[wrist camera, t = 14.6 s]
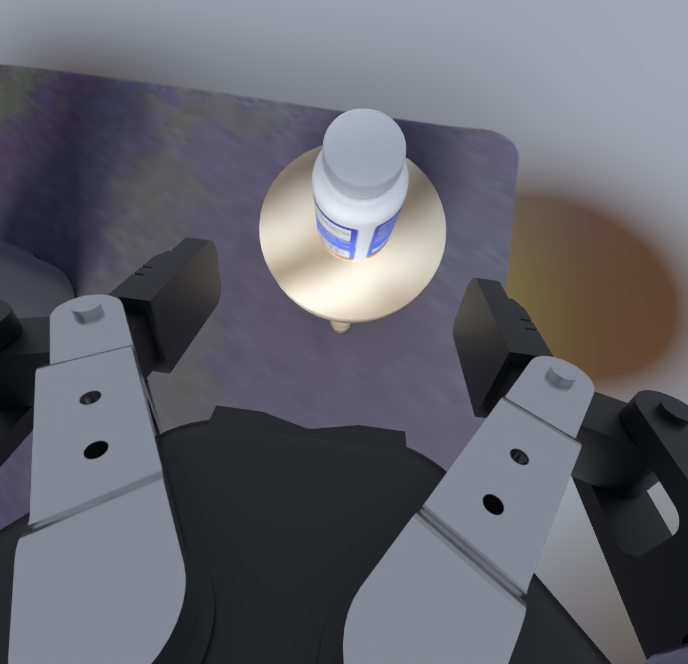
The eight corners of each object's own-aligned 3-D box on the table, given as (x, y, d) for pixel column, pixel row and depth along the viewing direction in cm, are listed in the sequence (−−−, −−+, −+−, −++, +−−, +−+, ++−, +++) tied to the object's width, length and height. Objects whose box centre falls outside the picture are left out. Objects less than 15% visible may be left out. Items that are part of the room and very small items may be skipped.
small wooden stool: (253, 254, 36) (222, 208, 26) (361, 179, 37) (370, 108, 27) (335, 363, 35) (334, 357, 25) (443, 281, 36) (483, 245, 26)
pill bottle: (382, 189, 26) (410, 84, 17) (395, 257, 26) (434, 189, 16) (311, 200, 26) (298, 99, 16) (323, 269, 25) (318, 207, 16)
